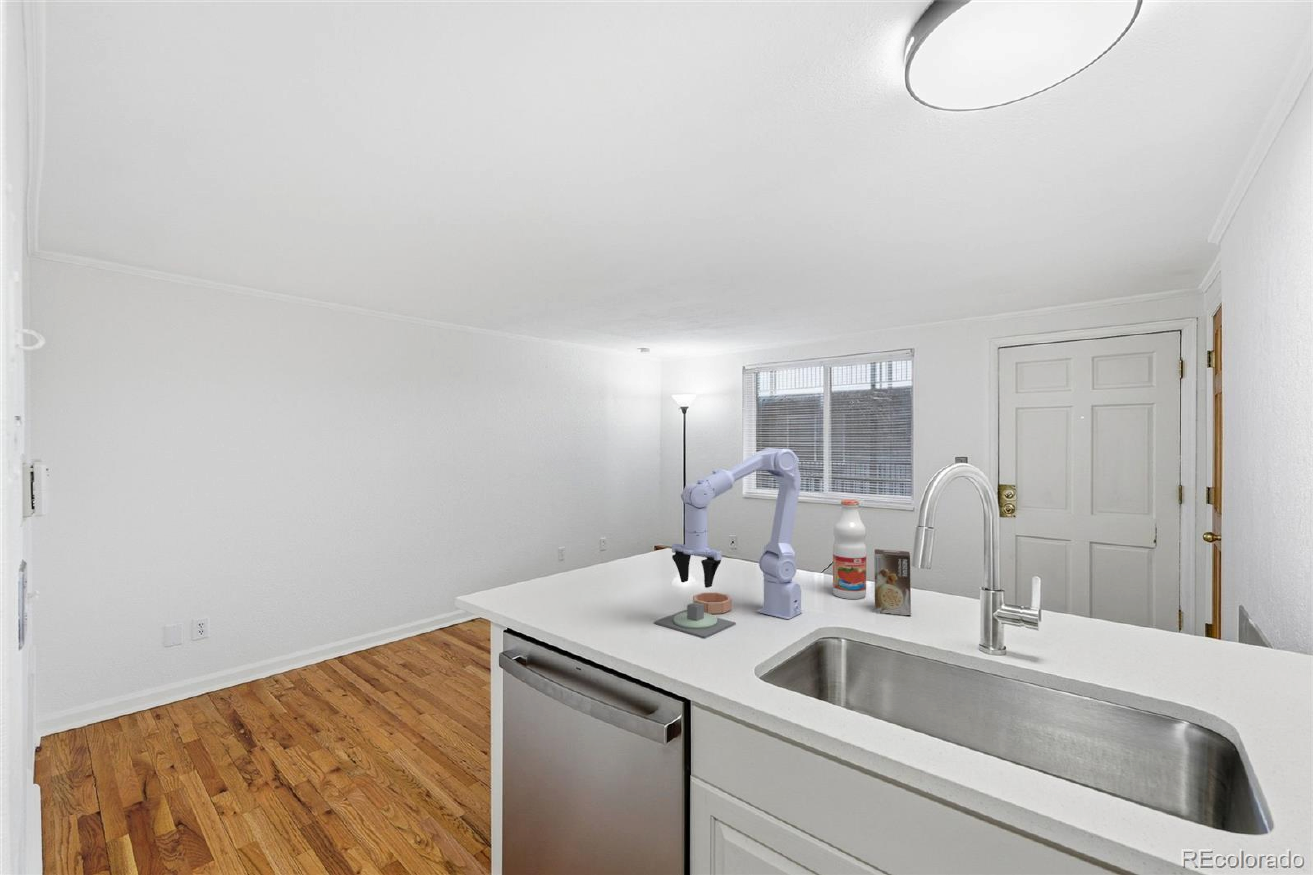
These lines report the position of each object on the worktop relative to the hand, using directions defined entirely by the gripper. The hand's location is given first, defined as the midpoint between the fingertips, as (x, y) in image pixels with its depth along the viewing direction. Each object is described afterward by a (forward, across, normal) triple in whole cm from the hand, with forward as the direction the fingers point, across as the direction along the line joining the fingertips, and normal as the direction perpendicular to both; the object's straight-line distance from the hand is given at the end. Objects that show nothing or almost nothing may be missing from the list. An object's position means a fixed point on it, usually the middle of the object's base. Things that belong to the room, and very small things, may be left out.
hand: (696, 584), depth 150 cm
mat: (+10, 0, -1) cm, 10 cm away
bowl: (+10, -4, +12) cm, 16 cm away
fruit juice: (+10, +20, +49) cm, 54 cm away
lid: (+9, 0, -1) cm, 9 cm away
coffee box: (+10, +34, +42) cm, 55 cm away
